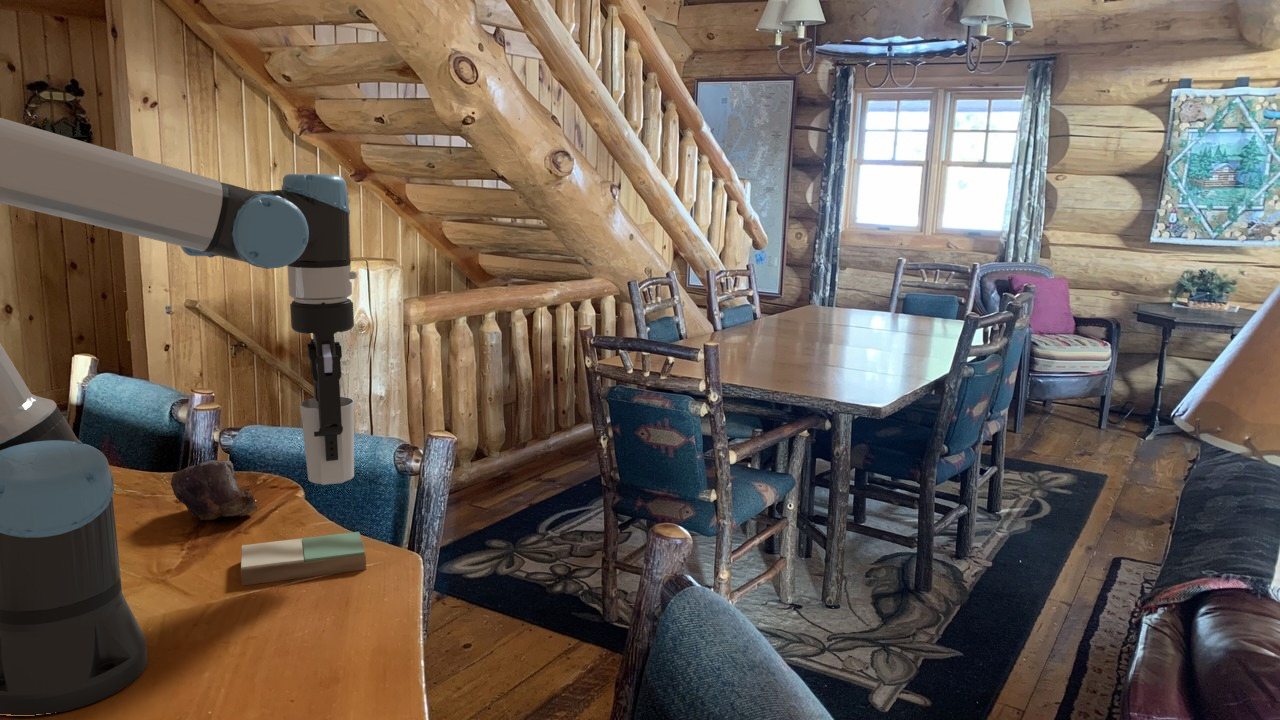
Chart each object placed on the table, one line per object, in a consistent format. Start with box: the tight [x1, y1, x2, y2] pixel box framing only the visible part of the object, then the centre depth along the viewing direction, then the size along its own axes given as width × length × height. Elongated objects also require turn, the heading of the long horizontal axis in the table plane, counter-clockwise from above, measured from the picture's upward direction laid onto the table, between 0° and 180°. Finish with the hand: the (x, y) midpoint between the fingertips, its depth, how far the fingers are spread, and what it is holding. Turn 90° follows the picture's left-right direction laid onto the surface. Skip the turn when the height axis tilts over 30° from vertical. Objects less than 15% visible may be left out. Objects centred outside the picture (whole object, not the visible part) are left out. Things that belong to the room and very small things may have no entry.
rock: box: [170, 459, 258, 521], centre depth 141 cm, size 12×9×10 cm
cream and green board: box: [240, 531, 367, 586], centre depth 125 cm, size 8×15×2 cm, turn 112°
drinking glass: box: [299, 395, 355, 485], centre depth 123 cm, size 7×7×10 cm
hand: (330, 474), depth 124 cm, fingers closed on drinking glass, 6 cm apart
